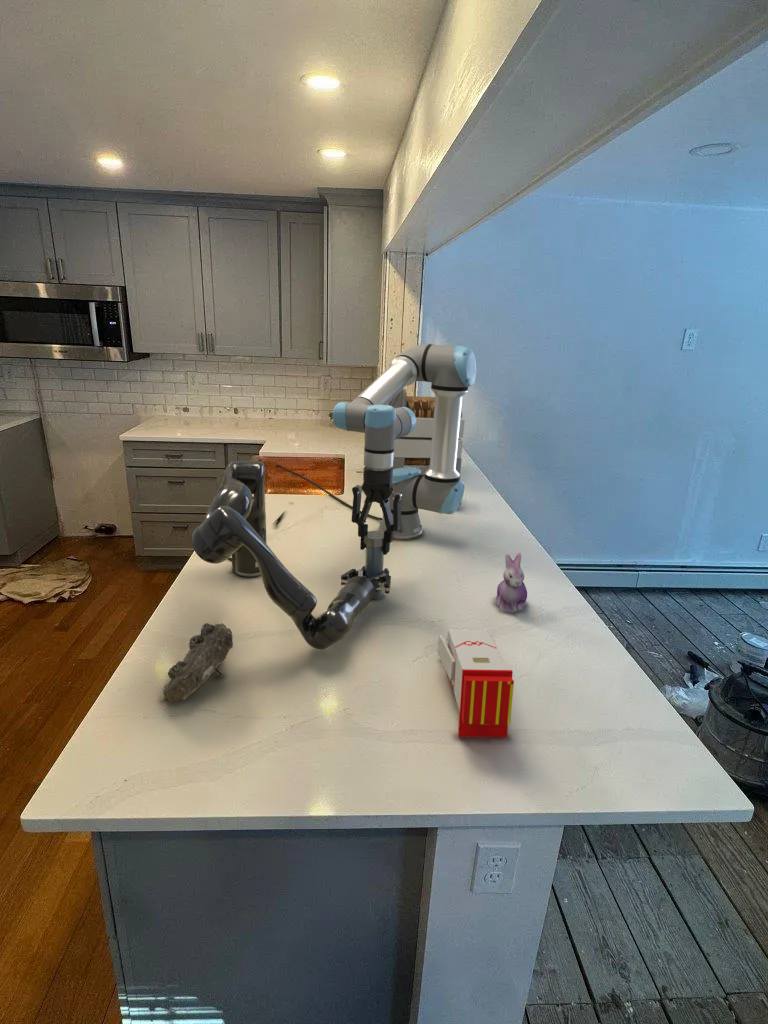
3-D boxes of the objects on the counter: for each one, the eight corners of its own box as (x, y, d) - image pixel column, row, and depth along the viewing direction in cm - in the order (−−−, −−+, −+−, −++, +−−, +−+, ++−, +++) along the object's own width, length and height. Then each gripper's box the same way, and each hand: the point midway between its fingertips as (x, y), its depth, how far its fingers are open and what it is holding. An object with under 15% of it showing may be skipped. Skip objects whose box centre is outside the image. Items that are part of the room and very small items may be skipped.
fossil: (187, 626, 130) (233, 595, 125) (216, 654, 133) (262, 625, 128) (141, 695, 110) (194, 662, 105) (176, 726, 113) (229, 696, 108)
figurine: (509, 617, 148) (516, 565, 143) (485, 599, 156) (491, 550, 151) (537, 610, 152) (544, 559, 147) (512, 593, 161) (519, 544, 156)
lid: (373, 536, 155) (373, 528, 155) (391, 542, 152) (391, 534, 151) (359, 542, 151) (359, 534, 150) (377, 549, 147) (377, 541, 147)
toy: (488, 613, 130) (523, 677, 101) (484, 667, 133) (517, 744, 104) (435, 612, 130) (455, 676, 101) (432, 666, 133) (451, 743, 103)
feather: (291, 505, 226) (294, 501, 225) (275, 529, 199) (277, 524, 199) (288, 503, 226) (290, 499, 225) (270, 526, 199) (273, 522, 199)
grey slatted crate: (382, 463, 289) (386, 382, 275) (445, 464, 293) (451, 384, 279) (390, 482, 257) (394, 392, 243) (460, 483, 261) (468, 394, 247)
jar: (372, 589, 160) (374, 531, 154) (385, 594, 157) (388, 536, 151) (360, 595, 156) (362, 536, 150) (374, 601, 153) (376, 541, 147)
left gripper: (382, 588, 138) (402, 561, 153) (328, 578, 142) (353, 552, 158) (381, 615, 141) (401, 586, 156) (328, 604, 145) (352, 577, 160)
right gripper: (418, 469, 144) (412, 552, 152) (351, 458, 151) (349, 539, 159) (407, 476, 138) (402, 562, 145) (338, 465, 144) (337, 548, 152)
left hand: (377, 569), depth 157 cm, fingers closed on jar, 5 cm apart
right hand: (374, 550), depth 152 cm, fingers closed on lid, 6 cm apart
